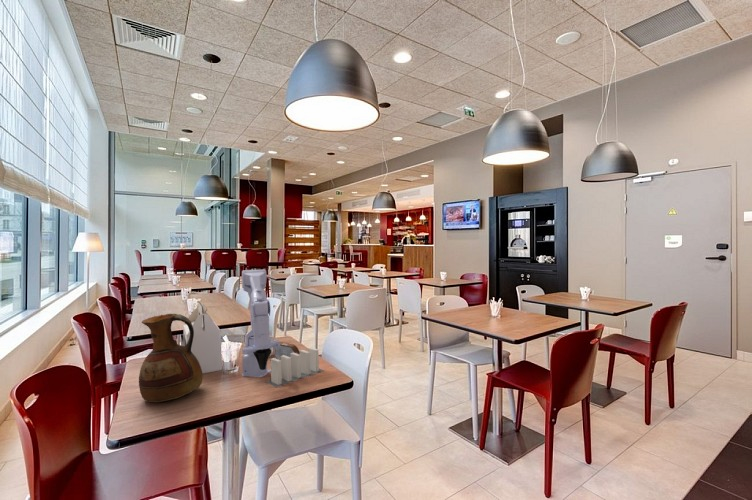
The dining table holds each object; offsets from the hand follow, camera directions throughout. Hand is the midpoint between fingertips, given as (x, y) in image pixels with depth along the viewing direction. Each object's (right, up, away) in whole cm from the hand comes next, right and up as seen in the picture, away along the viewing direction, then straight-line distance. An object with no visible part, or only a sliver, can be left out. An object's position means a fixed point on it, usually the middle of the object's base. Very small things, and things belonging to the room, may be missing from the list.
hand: (262, 369), depth 136 cm
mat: (+10, -7, +11) cm, 16 cm away
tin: (+1, -7, +31) cm, 32 cm away
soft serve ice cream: (-13, -7, +44) cm, 46 cm away
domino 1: (+4, -7, +4) cm, 9 cm away
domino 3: (+10, -6, +11) cm, 16 cm away
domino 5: (+16, -6, +17) cm, 25 cm away
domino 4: (+13, -6, +14) cm, 20 cm away
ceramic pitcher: (-31, -8, -4) cm, 33 cm away
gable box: (-36, -8, +27) cm, 45 cm away
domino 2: (+7, -7, +8) cm, 12 cm away
